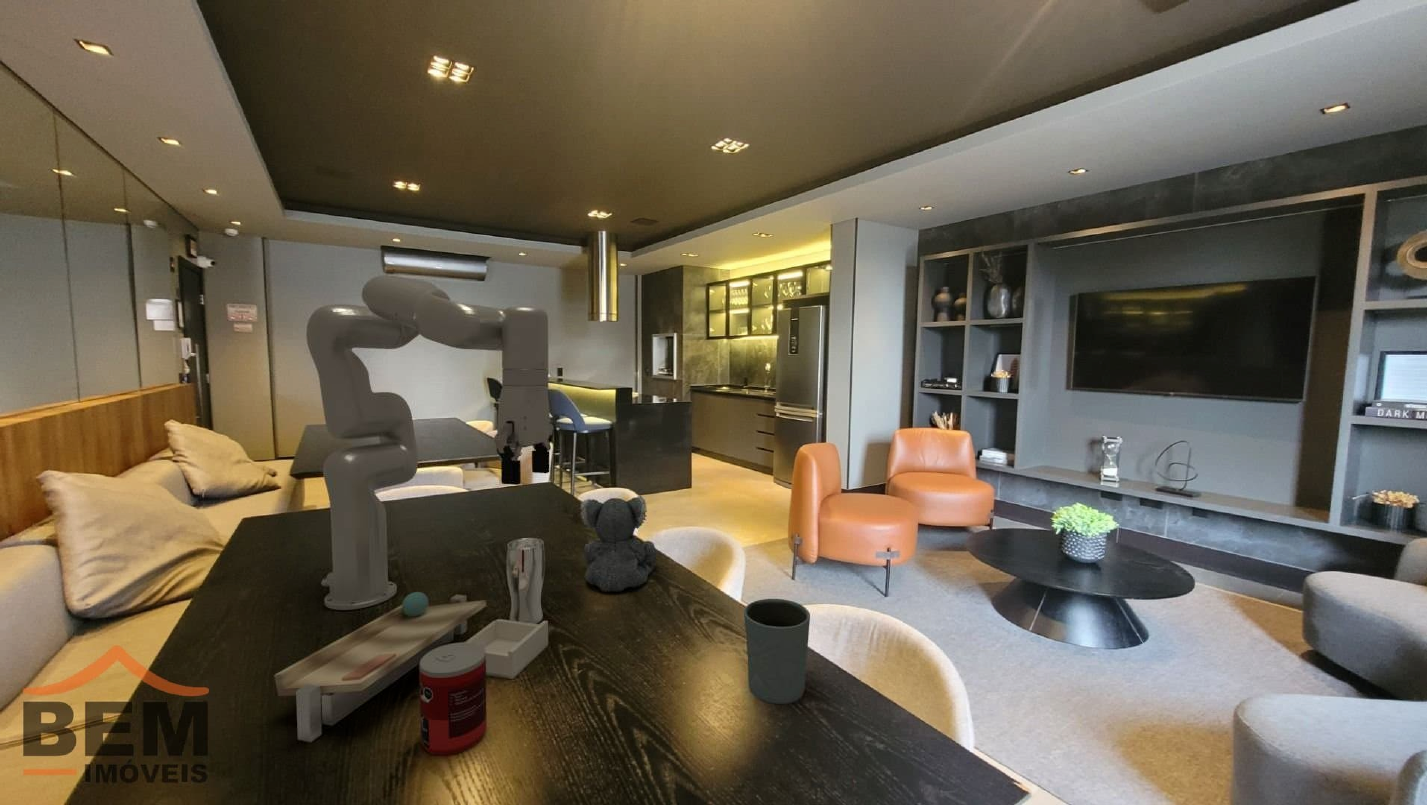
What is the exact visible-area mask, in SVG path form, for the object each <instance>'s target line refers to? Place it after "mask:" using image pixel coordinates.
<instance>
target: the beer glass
mask: <svg viewBox="0 0 1427 805" xmlns="http://www.w3.org/2000/svg"><path fill="white" fill-rule="evenodd" d="M544 543H545V542H544V541H543V539H541V538H536V537H526V538H525V537H522V538H518V539H514V540H512V541H511V540H510V542H508V543H507V545H506V546H507V550H506V565H505V566H506V569H505V570H506V579H507V584H508V589H509V594H510V599H511V608H510V614H509V619H508V620H510V621H517V622H525V623H532V624H540V623H541V621H542V620H543V618H544V615H543V610H542V604H541V603H542V602H541V599H542V596H541V595H542V589H543V584H544V577H545V572H546V571H545V570H546V557H545V556H546V555H545V546H544Z"/></svg>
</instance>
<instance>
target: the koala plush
mask: <svg viewBox="0 0 1427 805" xmlns="http://www.w3.org/2000/svg"><path fill="white" fill-rule="evenodd" d="M579 509H580V510H581V513H580V516H581V520H582V521H583V524H584V525H586V526H587V527H588V528H591V529H592V528H594V530H595V534H596V535H597V538H598V539H599V540H595V541H594V540H591V541H588V543H585V545H584V550H583V551H584V557H585V563H586V564H585V565H586V571H585V573H584V579H585V580H586V582H587V583H589V585H594V586H597V587H598V588H600V590H601V591H602V592H608V593H610V592H612V593H613V592H622V591H623V590H626V589H627V588H636V587H639V586H641V585H642V584H645V583H646V582H647V580H648V576H649V575H650V574H651V573H652V571H653V570H654V569H655V566H656V563H657V558H658V554H657V551H656V550H657V549H656V547H655V543H654V542H653V541H650V540H645V541H644V542H643V543H641V541H640V540H638V538H637V537H636V536H633V535H634V533H635V530H636V529H637V530H638V529H640V527H642V525H643V524H645V522H644V521H646V520H647V519H646V518H647V517H648V516H647V515H646V514H647V512H648V511H647V503H646V500H645V498H644V497H642V495H637V496H636V497H632V498H631V499H629V500H625V499H622V498H619V497H612V498H609V499H607V500H606V501H604V502H601V501H598V500H597V499H593V498H592V499H591V498H588V499H585V500H583V501H582V502H581V504H580V508H579Z"/></svg>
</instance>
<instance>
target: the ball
mask: <svg viewBox="0 0 1427 805" xmlns="http://www.w3.org/2000/svg"><path fill="white" fill-rule="evenodd" d="M401 605H402V609H403V611H404V613H405V614H406V615H408V616H411V617H415V616H419V615H421V614H422V613H423V612H424V611H425V610H426V609H427V607H428V606H429V599H428V596H427V595H426V593H423V592H421V591H420V592H419V591H414V592H412V593H411V592H410V593H409V594H408V595H406V597H405V598H404V599H403V600H402V604H401Z"/></svg>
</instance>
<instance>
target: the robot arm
mask: <svg viewBox="0 0 1427 805" xmlns="http://www.w3.org/2000/svg"><path fill="white" fill-rule="evenodd" d="M361 298H362V301H363V304H364V305H365V306H364V305H357V304H356V305H355V304H346V303H345V304H342V303H341V304H340V303H337V304H335V303H334V304H328V305H327V304H326V305H322V306H320V307H318V308H317V309H315V310H314V311H312V314H311V315H310V317H309V319H308V322H307V324H306V333H305V334H306V343H307V347H308V351H309V353H310V356H311V359H312V360H313V363H314V365H315V369H316V371H317V374H318V378H319V379H318V380H319V388H320V395H321V401H322V408H323V414H324V421H325V425H326V429H327V432H328V433H329V435H330V436H331V437H333V438H334V439H335V440H339V441H340V440H341V441H351V440H352V441H353V440H363V439H370V438H378V440H379V443H368V444H362V445H355V446H348V447H344V448H341V449H338V450H336V451H333V452H332V453H331V454H330V455H329V456H328V457H327V458H326V459H325V461H324V463H323V466H322V467H323V468H322V474H323V479H324V483H325V487H326V490H327V494H328V501H329V508H330V509H329V510H330V525H331V548H332V549H331V550H332V551H331V552H332V554H331V555H332V572H329V573H328V574H327V575H326V578H323V579H322V581H321V582H320V585H321V586H324V587H329V593H328V594H326V596H324V606H325V607H327V608H328V609H331V610H336V611H351V610H358V609H363V608H368V607H373V606H375V605H378V604H381V603H383V602H386V601H387V600H390V599H391V598H393V597H394V596H395V594H397V589H398V588H397V587H398V586H397V584H396V583H395V582H392V581H389V575H388V574H389V573H388V572H389V571H388V537H387V536H388V535H387V532H388V531H387V530H388V529H387V513H386V512H387V510H386V507H385V505H384V503H383V502H382V500H380V499H379V497H378V496H377V495H376V493H375V491H377V490H380V489H385V488H389V487H394V486H399V485H402V484H405V483H407V482H409V481H411V480H412V479H414V477H415V476H416V474H417V471H418V466H419V456H418V449H417V440H416V436H415V428H414V421H413V416H412V410H411V409H410V406H409V404H408V401H407V400H406V399H404V397H402V396H401V395H400V394H398V393H395V392H390V391H377V392H374V391H373V390H372V387H371V382H370V375H369V374H370V373H369V370H368V369H367V367H366V365H365V364H364V362H363V361H362V359H361V358H360V357H359V356H358V355H357V354H356V353H355V352H354V351H353V350H352V349H354V348H356V349H378V350H381V349H382V350H396V349H399V348H402V347H404V346H407V345H408V344H409V343H411V342H412V341H413V340H414V339H415V338H417V337H418V336H419V335H420V336H421V337H423V338H424V339H427V340H429V341H432V342H435V343H438V344H442V345H444V346H448V347H449V348H450V347H451V348H455V349H461V350H476V351H477V350H480V351H481V350H482V351H499V352H500V351H501V360H502V362H501V366H502V367H501V368H502V370H501V371H502V372H501V373H502V375H501V376H502V377H501V378H502V379H501V380H502V388H501V391H500V395H499V400H498V408H497V410H498V412H497V424H496V427H497V428H496V431H497V432H496V434H495V435H494V437H493V442H494V443H495V447H496V453H497V454H498V455H499V456H498V459H499V461H500V468H501V473H500V474H501V476H500V478H501V480H500V481H501V484H502V485H514V486H516V485H520V484H521V482H522V481H521V477H522V476H521V475H522V474H521V472H522V471H521V460H520V459H519V457H520V454H521V452H522V449H523V448H528V447H532V448H533V450H531V472H532V473H533V474H534V473H536V474H548V473H549V472H550V451H551V450H552V447H551V442H552V439H553V436H552V435H553V430H554V425H553V424H552V423H551V418H550V417H551V416H550V415H551V414H550V402H549V394H548V392H549V391H548V389H549V388H550V387H549V316H548V313H547V312H546V311H545V310H544V309H542V308H538V307H533V306H532V307H531V306H509V307H506V308H498V307H491V306H490V307H489V306H484V305H476V304H469V303H463V302H462V303H461V302H457V301H453V300H451V297H449V295H448V293H446V292H445V291H444V290H442V289H440V288H438V287H437V286H436V285H435V284H433V283H432V282H429V281H426V280H420V279H414V278H408V277H403V276H398V275H392V274H391V275H390V274H387V275H386V274H385V275H378V276H374V277H372V278H370V279H369V280H367V281H366V283H365V284H364V286H363V287H362V291H361ZM512 449H513V450H512Z"/></svg>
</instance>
